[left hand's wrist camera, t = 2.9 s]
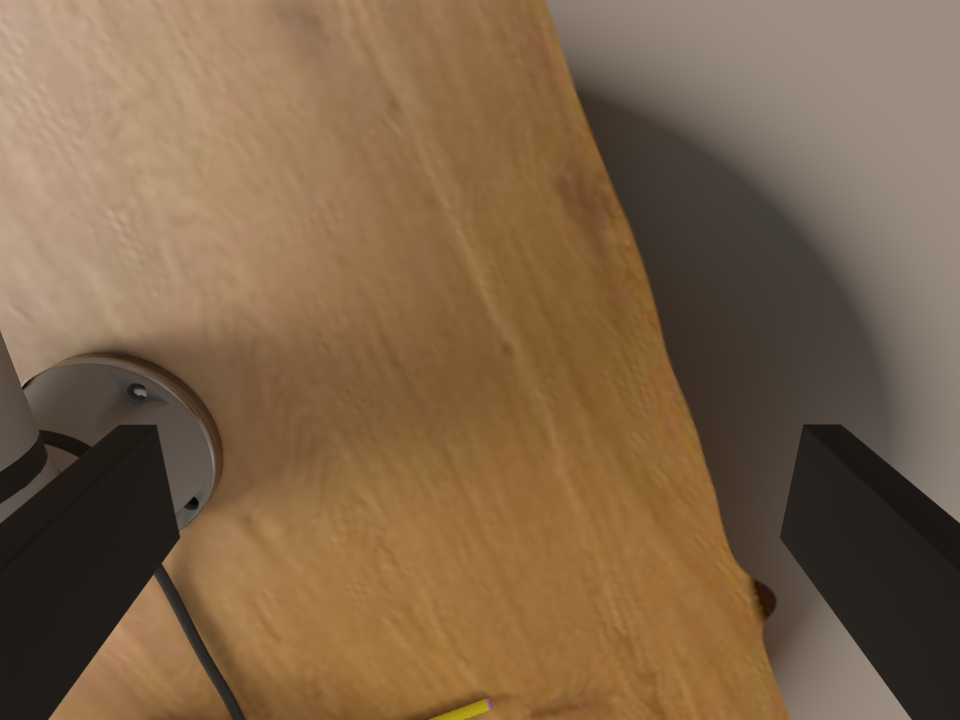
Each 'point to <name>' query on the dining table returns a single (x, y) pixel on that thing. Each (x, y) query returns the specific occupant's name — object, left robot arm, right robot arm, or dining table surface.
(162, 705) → the dining table surface
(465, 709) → the pencil
